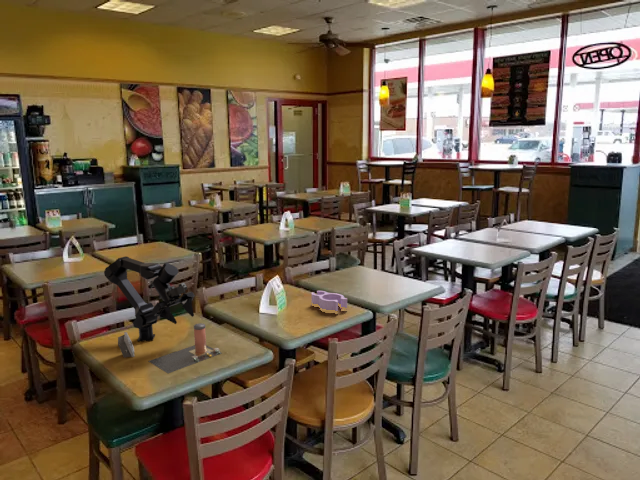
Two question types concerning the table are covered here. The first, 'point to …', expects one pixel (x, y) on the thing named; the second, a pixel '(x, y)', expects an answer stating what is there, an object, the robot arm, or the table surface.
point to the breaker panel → (183, 358)
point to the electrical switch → (126, 345)
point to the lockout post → (200, 338)
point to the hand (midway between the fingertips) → (184, 319)
